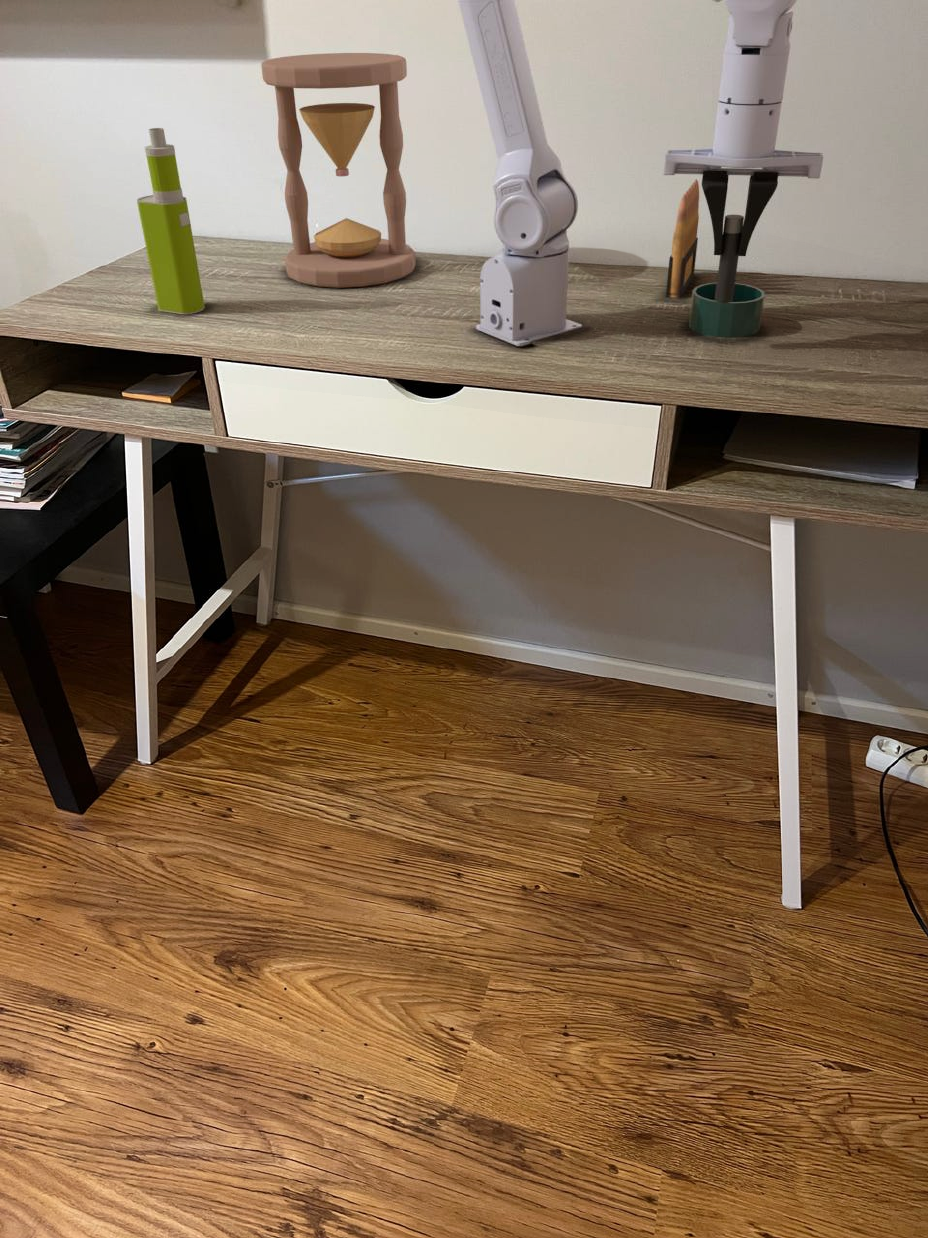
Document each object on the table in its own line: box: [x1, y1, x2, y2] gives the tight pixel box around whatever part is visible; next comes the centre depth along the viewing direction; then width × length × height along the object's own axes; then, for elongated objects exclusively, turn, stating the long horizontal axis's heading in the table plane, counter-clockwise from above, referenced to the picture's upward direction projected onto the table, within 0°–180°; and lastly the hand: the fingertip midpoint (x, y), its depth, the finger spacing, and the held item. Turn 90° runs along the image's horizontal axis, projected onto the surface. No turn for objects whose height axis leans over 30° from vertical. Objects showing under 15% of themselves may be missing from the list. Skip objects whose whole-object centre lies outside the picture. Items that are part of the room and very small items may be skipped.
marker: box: [715, 214, 745, 303], centre depth 98 cm, size 2×2×8 cm
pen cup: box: [688, 282, 766, 339], centre depth 108 cm, size 8×8×4 cm
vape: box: [136, 127, 206, 315], centre depth 114 cm, size 4×6×20 cm, turn 64°
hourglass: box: [260, 52, 417, 289], centre depth 126 cm, size 18×18×25 cm
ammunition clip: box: [665, 179, 700, 299], centre depth 119 cm, size 11×2×12 cm, turn 160°
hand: (729, 253), depth 98 cm, fingers closed on marker, 2 cm apart
